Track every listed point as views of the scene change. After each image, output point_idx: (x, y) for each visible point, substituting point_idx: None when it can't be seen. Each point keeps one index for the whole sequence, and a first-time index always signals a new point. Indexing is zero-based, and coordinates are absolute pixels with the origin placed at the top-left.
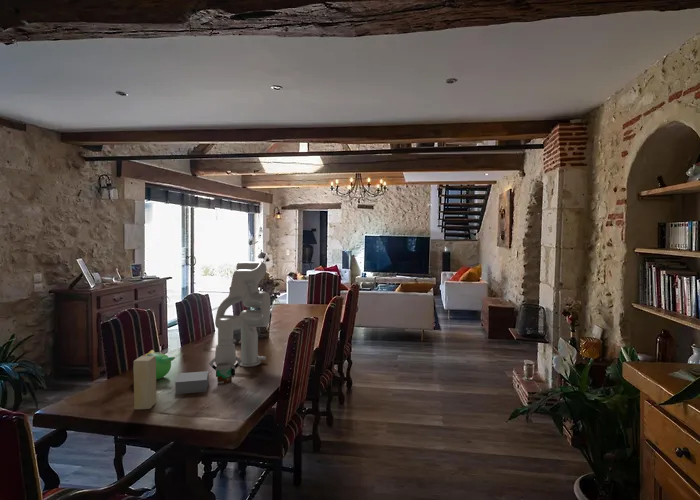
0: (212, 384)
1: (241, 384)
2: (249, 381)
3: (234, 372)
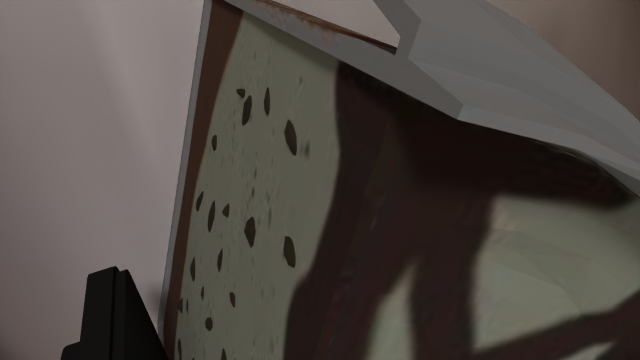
0: (44, 312)
1: None
2: None
3: None
